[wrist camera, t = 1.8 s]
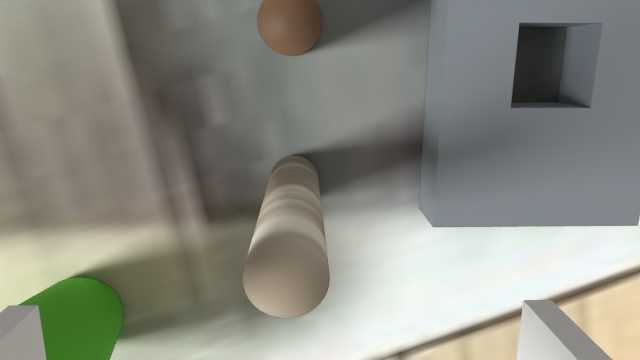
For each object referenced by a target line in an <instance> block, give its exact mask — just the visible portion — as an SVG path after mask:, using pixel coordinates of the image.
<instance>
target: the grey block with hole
mask: <svg viewBox="0 0 640 360" xmlns="http://www.w3.org/2000/svg"><path fill="white" fill-rule="evenodd" d="M519 27H567V31H566V39H565V47H564V55H563V62H562V70H561V78H560V86H559V94H558V102H511V100H512V90H513V81H514V71H515V61H516V52H517V42H518V32H519ZM419 209H420V210H421V212H422V213H423V214H424V216H425V217H426V218H427V220H428V221H429V222H430V224H431V225H432V226H433V227H519V226H638V221H639V216H640V0H431V9H430V26H429V44H428V61H427V78H426V95H425V113H424V130H423V147H422V164H421V182H420V199H419Z"/></svg>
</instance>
